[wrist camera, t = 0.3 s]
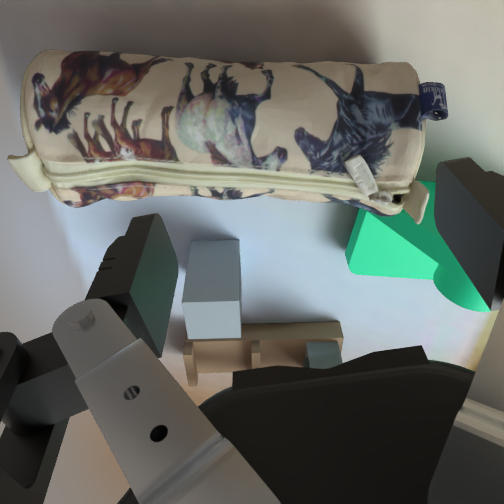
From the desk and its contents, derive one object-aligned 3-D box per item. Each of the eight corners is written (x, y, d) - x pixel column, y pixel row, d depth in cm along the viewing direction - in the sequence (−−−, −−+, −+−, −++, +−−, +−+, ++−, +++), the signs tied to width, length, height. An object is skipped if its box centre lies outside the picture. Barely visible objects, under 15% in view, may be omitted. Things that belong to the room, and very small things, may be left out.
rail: (186, 325, 42) (175, 410, 35) (339, 321, 42) (359, 405, 35) (192, 357, 45) (183, 440, 38) (334, 353, 45) (351, 435, 38)
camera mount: (339, 253, 37) (367, 350, 29) (364, 174, 32) (405, 265, 24) (472, 262, 38) (534, 359, 30) (515, 188, 33) (603, 279, 25)
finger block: (190, 240, 35) (181, 302, 30) (239, 239, 35) (239, 300, 30) (195, 276, 38) (188, 339, 32) (241, 275, 38) (241, 337, 32)
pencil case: (413, 44, 26) (484, 102, 18) (380, 168, 31) (425, 253, 24) (48, 29, 25) (-34, 84, 18) (79, 160, 30) (26, 245, 23)
